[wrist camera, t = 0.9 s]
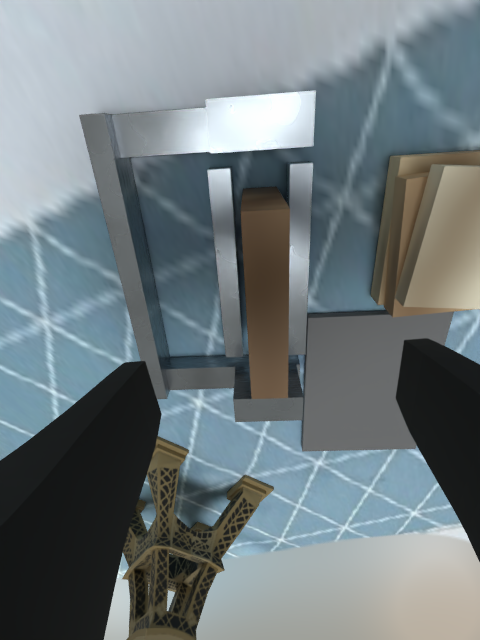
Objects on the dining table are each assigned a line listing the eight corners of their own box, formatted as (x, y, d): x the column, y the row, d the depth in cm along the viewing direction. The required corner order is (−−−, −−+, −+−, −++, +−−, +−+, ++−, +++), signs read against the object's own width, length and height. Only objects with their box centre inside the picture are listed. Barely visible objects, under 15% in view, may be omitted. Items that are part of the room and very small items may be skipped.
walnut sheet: (276, 186, 16) (289, 208, 11) (277, 329, 20) (288, 398, 14) (243, 188, 16) (240, 211, 11) (250, 330, 20) (251, 399, 14)
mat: (449, 307, 19) (453, 311, 18) (412, 443, 24) (415, 448, 23) (306, 314, 19) (308, 318, 19) (301, 445, 24) (302, 451, 24)
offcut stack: (489, 149, 15) (550, 151, 12) (451, 293, 18) (490, 324, 15) (387, 156, 15) (422, 159, 12) (367, 297, 18) (390, 328, 15)
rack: (310, 102, 14) (331, 89, 11) (301, 373, 21) (311, 419, 18) (99, 117, 15) (52, 110, 11) (158, 378, 22) (141, 424, 18)
